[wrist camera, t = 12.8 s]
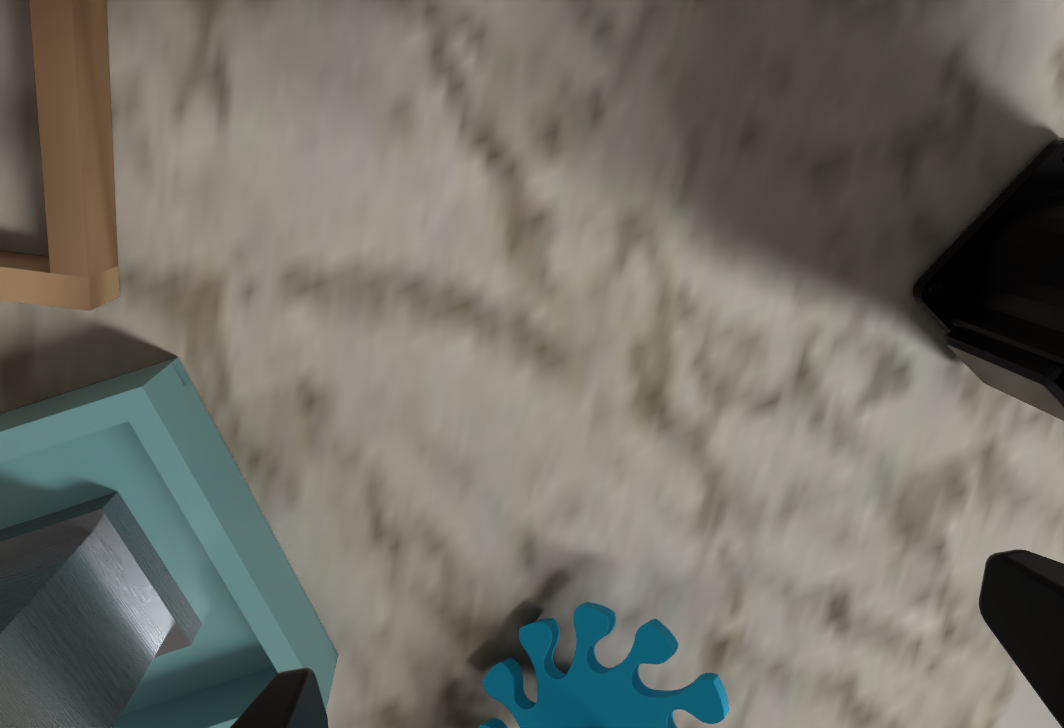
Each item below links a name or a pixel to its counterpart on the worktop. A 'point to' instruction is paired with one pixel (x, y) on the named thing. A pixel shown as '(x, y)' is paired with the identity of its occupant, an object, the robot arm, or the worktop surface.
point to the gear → (599, 680)
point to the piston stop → (83, 615)
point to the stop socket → (71, 162)
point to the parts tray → (173, 536)
